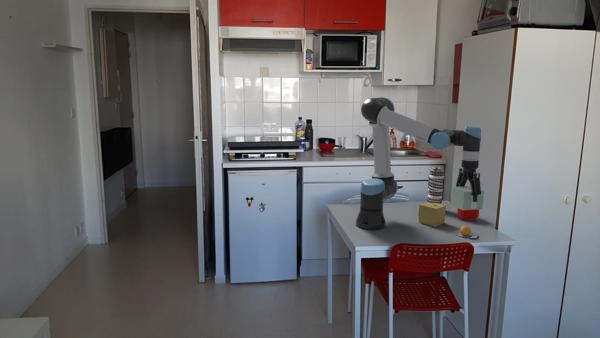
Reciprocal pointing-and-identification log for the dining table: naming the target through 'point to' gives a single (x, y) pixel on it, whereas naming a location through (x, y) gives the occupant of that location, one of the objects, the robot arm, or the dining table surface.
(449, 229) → the dining table surface
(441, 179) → the decorative candle
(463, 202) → the sage green cube
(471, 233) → the disc
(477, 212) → the tomato
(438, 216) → the cheese
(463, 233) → the ball
